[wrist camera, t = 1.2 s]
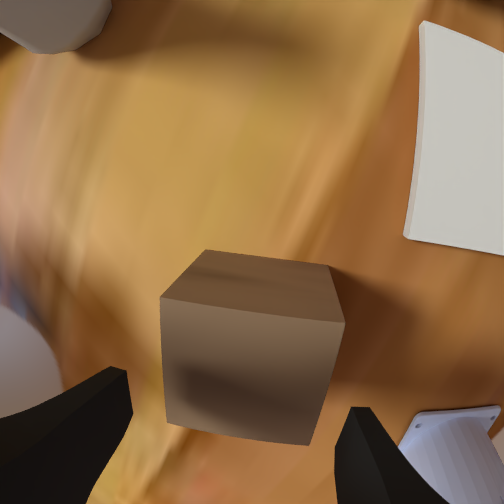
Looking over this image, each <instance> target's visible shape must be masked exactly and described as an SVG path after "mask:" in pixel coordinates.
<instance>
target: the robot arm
mask: <svg viewBox="0 0 504 504" xmlns="http://www.w3.org/2000/svg"><path fill="white" fill-rule="evenodd" d="M500 411H501V408H500V406H499V405H496V406H489V407H480V408H471V409H461V410H448V411H432V412H420V413H418V414H417V415H416V416H415V417H414V419H413V421H412V422H411V424H410V426H409V428H408V430H407V432H406V433H405V435H404V437H403V439H402V440H401V442H400V444H399V446H398V447H397V446H396V444H395V443H394V441H393V440H392V439H391V437H390V436H389V434H388V433H387V432H386V430H385V429H384V427H383V426H382V424H381V423H380V421H379V420H378V419H377V417H376V416H375V414H374V413H373V411H372V410H371V409H370V407H351V409H350V411H349V414H348V416H347V419H346V422H345V424H344V426H343V429H342V431H341V434H340V436H339V438H338V441H337V443H336V445H335V462H334V474H335V484H336V493H337V502H338V504H504V465H503V463H502V461H501V459H500V457H499V455H498V453H497V451H496V449H495V447H494V445H493V444H492V442H491V440H490V438H489V436H488V434H487V432H488V431H489V429H490V428H491V426H492V424H493V423H494V421H495V420H496V418H497V417H498V415H499V413H500ZM132 416H133V409H132V403H131V397H130V391H129V385H128V379H127V372H126V370H122V369H119V368H115V367H112V366H110V367H108V368H106V369H104V370H102V371H101V372H99V373H97V374H95V375H94V376H92V377H90V378H88V379H87V380H85V381H83V382H82V383H80V384H78V385H76V386H74V387H73V388H71V389H69V390H67V391H65V392H64V393H62V394H60V395H58V396H56V397H54V398H52V399H49V400H47V401H45V402H44V403H41V404H39V405H37V406H35V407H32V408H30V409H28V410H25V411H22V412H20V413H16V414H14V415H11V416H7V417H4V418H0V504H86V502H87V500H88V497H89V495H90V493H91V491H92V489H93V487H94V485H95V483H96V481H97V480H98V478H99V476H100V475H101V473H102V471H103V470H104V468H105V467H106V465H107V463H108V462H109V460H110V458H111V457H112V455H113V454H114V452H115V450H116V449H117V447H118V445H119V444H120V442H121V440H122V438H123V437H124V434H125V432H126V430H127V428H128V425H129V423H130V420H131V418H132Z"/></svg>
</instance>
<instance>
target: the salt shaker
mask: <svg viewBox="0 0 504 504" xmlns="http://www.w3.org/2000/svg"><path fill="white" fill-rule="evenodd" d="M111 9H112V3H111V0H0V33H2V34H4V35H5V36H7V37H9V38H10V39H12V40H13V41H15V42H17V43H18V44H20V45H21V46H23V47H25V48H26V49H28V50H29V51H31V52H32V53H38V54H57V53H62V52H67V51H72V50H76V49H78V48H79V47H81V46H82V45H84V44H85V43H87V42H88V41H90V40H91V39H93V38H94V37H96V36H97V35H99V34H100V33H101V31H102V29H103V26H104V24H105V22H106V20H107V18H108V15H109V13H110V11H111Z"/></svg>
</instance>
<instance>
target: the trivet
mask: <svg viewBox="0 0 504 504" xmlns="http://www.w3.org/2000/svg"><path fill="white" fill-rule="evenodd" d="M419 43H420V85H419V110H418V125H417V138H416V149H415V158H414V167H413V175H412V183H411V190H410V197H409V203H408V209H407V215H406V221H405V227H404V232H403V235H404V236H405V237H406V238H408V239H412V240H418V241H425V242H431V243H437V244H443V245H448V246H454V247H460V248H466V249H471V250H477V251H482V252H488V253H493V254H499V255H504V53H502V52H500V51H498V50H496V49H494V48H492V47H490V46H488V45H486V44H484V43H482V42H479V41H477V40H475V39H472V38H470V37H468V36H465V35H463V34H460V33H458V32H455V31H453V30H450V29H447V28H445V27H442V26H439V25H436V24H433V23H430V22H427V21H423V22H422V23H421V24H420V25H419Z"/></svg>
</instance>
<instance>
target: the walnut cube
mask: <svg viewBox="0 0 504 504" xmlns="http://www.w3.org/2000/svg"><path fill="white" fill-rule="evenodd" d="M345 324H346V323H345V319H344V316H343V313H342V309H341V306H340V303H339V299H338V296H337V293H336V290H335V286H334V283H333V280H332V277H331V274H330V271H329V268H328V265H323V264H315V263H307V262H299V261H291V260H283V259H276V258H268V257H260V256H252V255H244V254H237V253H229V252H221V251H214V250H205V251H204V252H203V253H202V254H201V255H200V256H199V257H198V258H197V259H196V260H195V261H194V262H193V263H192V264H191V265H190V266H189V267H188V268H187V269H186V270H185V271H184V272H183V273H182V274H181V275H180V276H179V277H178V278H177V279H176V281H175V282H174V283H173V284H172V285H171V286H170V287H169V288H168V289H167V290H166V291H165V292H164V293H163V294H162V295H161V296H160V326H161V349H162V367H163V382H164V395H165V407H166V417H167V423H170V424H174V425H178V426H183V427H187V428H191V429H196V430H201V431H205V432H210V433H216V434H221V435H226V436H232V437H238V438H245V439H251V440H258V441H266V442H274V443H283V444H294V445H306V446H309V445H310V442H311V439H312V436H313V433H314V430H315V427H316V424H317V421H318V418H319V415H320V412H321V409H322V406H323V403H324V400H325V396H326V393H327V390H328V386H329V383H330V380H331V376H332V373H333V369H334V366H335V362H336V358H337V355H338V351H339V347H340V344H341V340H342V336H343V332H344V328H345Z"/></svg>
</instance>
